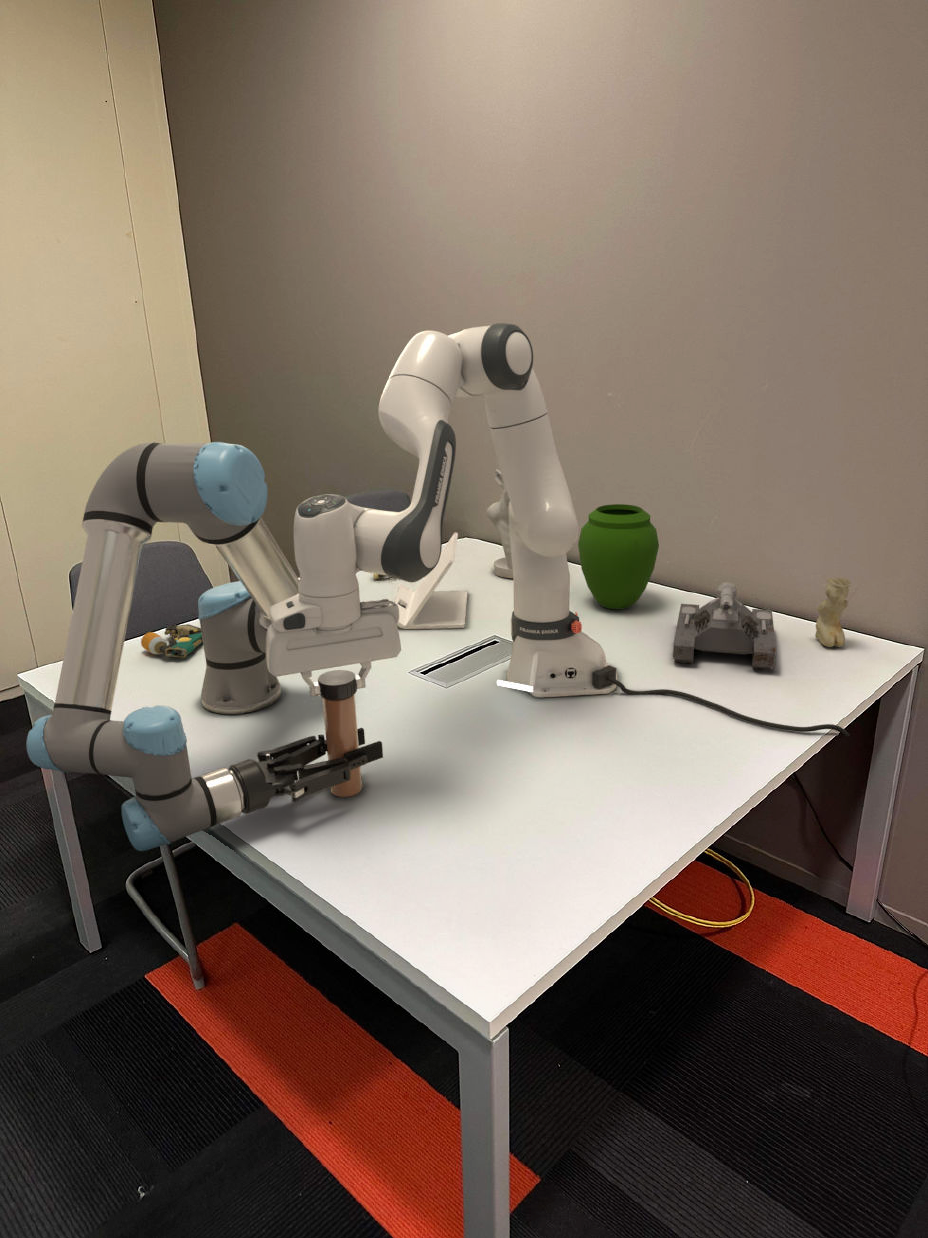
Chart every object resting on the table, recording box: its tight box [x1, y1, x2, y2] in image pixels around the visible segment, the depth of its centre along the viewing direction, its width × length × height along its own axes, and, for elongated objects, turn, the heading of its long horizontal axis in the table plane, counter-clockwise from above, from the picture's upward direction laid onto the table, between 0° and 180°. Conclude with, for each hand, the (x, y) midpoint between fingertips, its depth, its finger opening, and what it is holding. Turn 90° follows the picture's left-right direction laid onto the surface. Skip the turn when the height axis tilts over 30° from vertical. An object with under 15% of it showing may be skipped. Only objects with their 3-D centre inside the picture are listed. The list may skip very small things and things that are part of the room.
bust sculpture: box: [485, 461, 513, 579], centre depth 231 cm, size 16×24×35 cm
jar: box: [321, 693, 363, 798], centre depth 134 cm, size 5×5×19 cm
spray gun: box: [140, 623, 203, 658], centre depth 196 cm, size 4×17×15 cm
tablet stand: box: [393, 531, 468, 630], centre depth 211 cm, size 18×25×17 cm
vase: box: [577, 503, 660, 610], centre depth 210 cm, size 20×20×24 cm
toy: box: [672, 581, 777, 670], centre depth 184 cm, size 25×20×15 cm
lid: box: [317, 669, 358, 700], centre depth 131 cm, size 6×6×2 cm
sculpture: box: [814, 576, 852, 648], centre depth 185 cm, size 6×7×15 cm
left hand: (372, 742), depth 138 cm, fingers closed on jar, 5 cm apart
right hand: (337, 691), depth 131 cm, fingers closed on lid, 5 cm apart
